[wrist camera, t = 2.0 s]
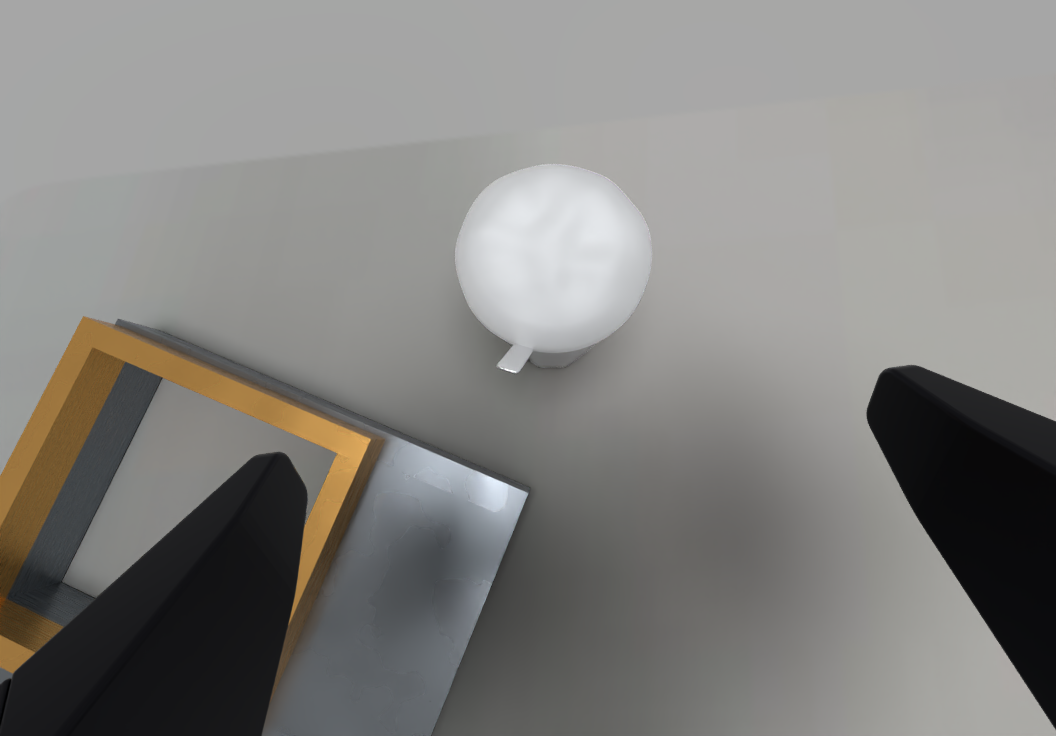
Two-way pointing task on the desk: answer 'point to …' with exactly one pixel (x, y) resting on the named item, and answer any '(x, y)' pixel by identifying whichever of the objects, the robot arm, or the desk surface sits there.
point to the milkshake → (552, 262)
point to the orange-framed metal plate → (328, 540)
